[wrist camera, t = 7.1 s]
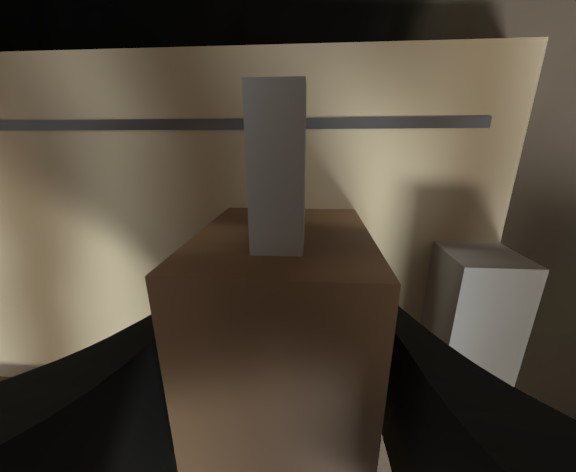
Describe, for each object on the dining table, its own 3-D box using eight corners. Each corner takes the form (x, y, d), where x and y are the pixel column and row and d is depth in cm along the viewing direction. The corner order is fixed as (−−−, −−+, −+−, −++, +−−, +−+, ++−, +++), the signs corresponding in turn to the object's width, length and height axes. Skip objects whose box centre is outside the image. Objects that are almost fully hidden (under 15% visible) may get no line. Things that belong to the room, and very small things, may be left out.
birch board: (22, 384, 15) (-62, 455, 11) (-91, 67, 10) (-281, 33, 7) (437, 410, 13) (479, 501, 10) (510, 53, 9) (630, 1, 6)
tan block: (240, 381, 12) (190, 547, 7) (221, 105, 8) (108, 64, 4) (342, 387, 11) (364, 565, 7) (362, 104, 8) (431, 56, 3)
